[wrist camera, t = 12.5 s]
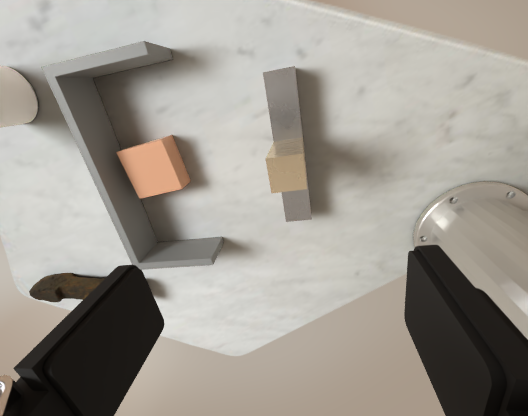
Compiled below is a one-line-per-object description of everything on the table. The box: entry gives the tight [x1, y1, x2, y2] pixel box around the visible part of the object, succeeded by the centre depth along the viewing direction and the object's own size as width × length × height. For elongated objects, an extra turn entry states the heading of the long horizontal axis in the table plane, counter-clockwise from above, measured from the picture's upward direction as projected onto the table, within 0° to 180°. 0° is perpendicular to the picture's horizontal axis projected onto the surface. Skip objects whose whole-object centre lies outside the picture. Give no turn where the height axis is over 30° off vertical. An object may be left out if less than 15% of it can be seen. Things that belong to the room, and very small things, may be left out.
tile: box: [116, 135, 191, 199], centre depth 32 cm, size 6×6×3 cm
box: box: [41, 41, 224, 270], centre depth 31 cm, size 11×24×5 cm, turn 10°
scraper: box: [263, 66, 312, 222], centre depth 26 cm, size 3×16×10 cm, turn 10°
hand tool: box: [29, 273, 105, 302], centre depth 41 cm, size 19×4×5 cm, turn 88°
